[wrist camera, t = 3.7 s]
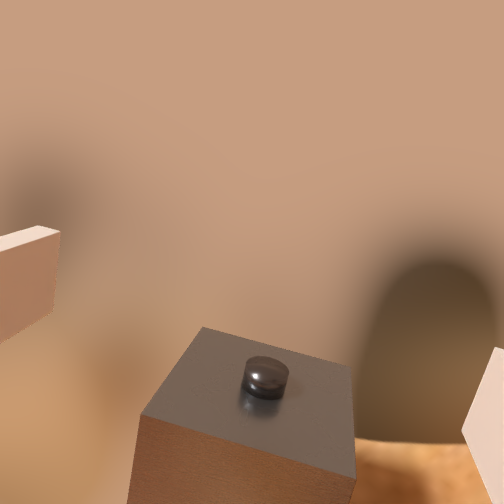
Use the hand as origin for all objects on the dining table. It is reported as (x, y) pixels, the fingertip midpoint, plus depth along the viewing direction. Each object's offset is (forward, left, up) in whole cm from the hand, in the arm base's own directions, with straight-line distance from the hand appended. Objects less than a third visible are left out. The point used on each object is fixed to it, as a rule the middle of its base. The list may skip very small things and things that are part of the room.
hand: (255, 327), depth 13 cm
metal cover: (-9, -3, -18) cm, 21 cm away
